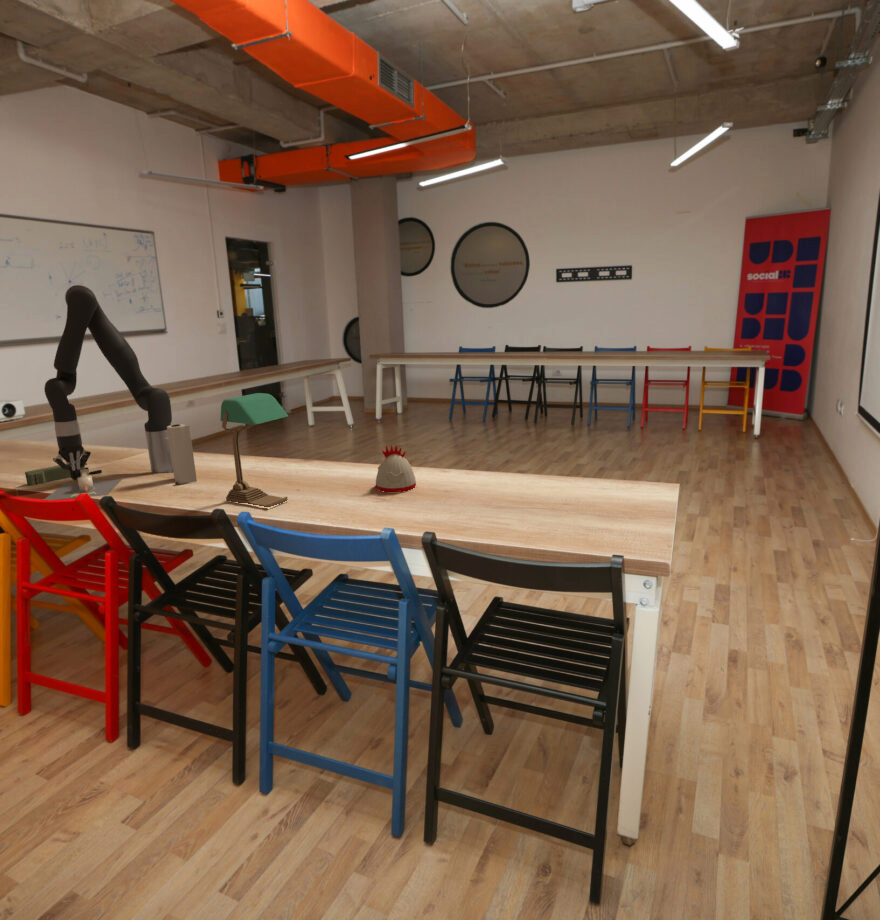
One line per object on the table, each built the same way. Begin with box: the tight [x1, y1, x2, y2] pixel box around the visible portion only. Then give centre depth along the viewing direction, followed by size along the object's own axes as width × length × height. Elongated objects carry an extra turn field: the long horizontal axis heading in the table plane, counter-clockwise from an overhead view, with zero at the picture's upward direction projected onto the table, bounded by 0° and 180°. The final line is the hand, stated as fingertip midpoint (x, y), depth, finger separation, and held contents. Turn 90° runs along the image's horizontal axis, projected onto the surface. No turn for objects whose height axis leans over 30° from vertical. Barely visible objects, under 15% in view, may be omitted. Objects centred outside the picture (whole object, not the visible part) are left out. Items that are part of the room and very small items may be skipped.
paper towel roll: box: [167, 423, 198, 485], centre depth 225 cm, size 7×6×21 cm
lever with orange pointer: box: [77, 469, 94, 493], centre depth 220 cm, size 22×4×4 cm, turn 31°
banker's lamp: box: [220, 392, 289, 507], centre depth 198 cm, size 16×21×35 cm
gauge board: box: [43, 478, 123, 501], centre depth 219 cm, size 20×20×2 cm
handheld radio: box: [24, 462, 103, 487], centre depth 234 cm, size 7×3×25 cm
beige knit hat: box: [375, 444, 417, 493], centre depth 213 cm, size 14×14×15 cm
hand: (76, 479), depth 225 cm, fingers closed
